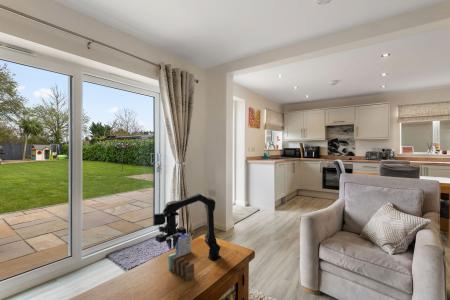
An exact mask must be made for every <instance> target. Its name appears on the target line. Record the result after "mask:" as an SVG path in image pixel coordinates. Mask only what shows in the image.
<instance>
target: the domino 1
mask: <svg viewBox="0 0 450 300" xmlns="http://www.w3.org/2000/svg"><path fill="white" fill-rule="evenodd" d="M176 256H177V255H176V252H174V253H172V254H169V255H168V257H167V259H168V260H167V261H168V270H173V269H172V258H174V257H176Z"/></svg>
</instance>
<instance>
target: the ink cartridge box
mask: <svg viewBox="0 0 450 300" xmlns="http://www.w3.org/2000/svg"><path fill="white" fill-rule="evenodd" d="M179 235H180V236H181V237H179V239H178V241H177V243H176V246H175V248H174V249H175V253H176V256H178V255H179V256H180V257H183V256H185V255H187V254H191V253H192V246H191V234H189V233H186V234H182V233H179Z"/></svg>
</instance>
